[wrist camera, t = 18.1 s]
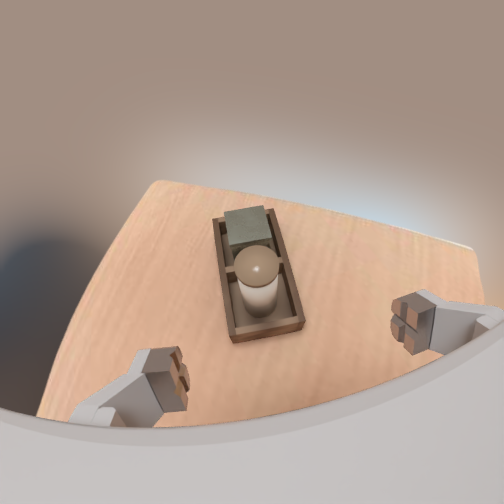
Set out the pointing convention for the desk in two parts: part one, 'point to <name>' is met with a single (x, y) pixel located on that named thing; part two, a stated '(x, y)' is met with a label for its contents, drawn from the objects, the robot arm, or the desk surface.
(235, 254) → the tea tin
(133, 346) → the desk surface
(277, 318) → the crate
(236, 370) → the desk surface
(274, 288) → the lidded white canister
